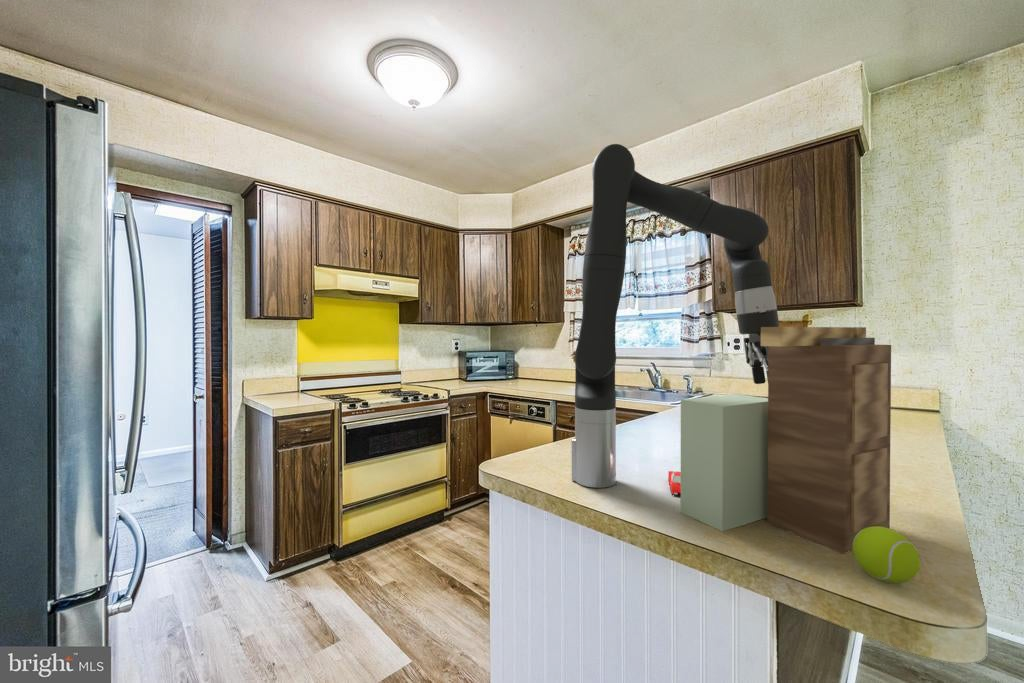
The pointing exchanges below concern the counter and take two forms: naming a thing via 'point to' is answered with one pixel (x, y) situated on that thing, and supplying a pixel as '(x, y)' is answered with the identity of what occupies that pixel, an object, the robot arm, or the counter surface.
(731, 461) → the tall sage green block
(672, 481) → the toy car
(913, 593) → the counter surface
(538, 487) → the counter surface
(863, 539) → the tennis ball
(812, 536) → the wooden cabinet
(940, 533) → the counter surface
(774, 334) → the wooden plank
